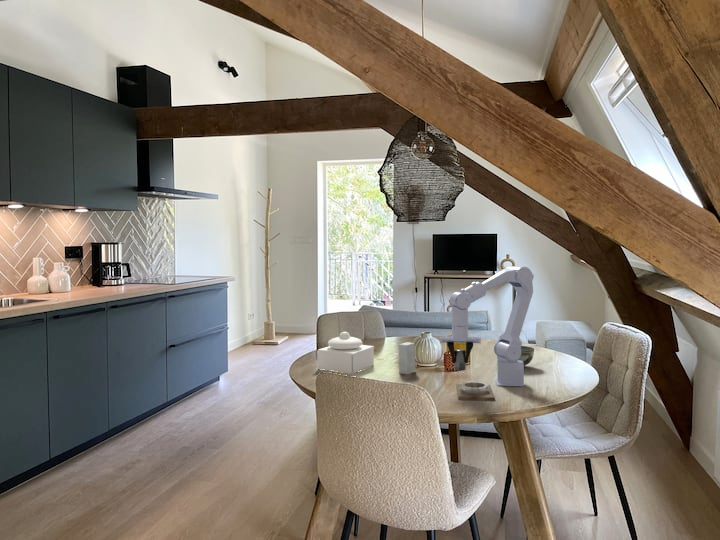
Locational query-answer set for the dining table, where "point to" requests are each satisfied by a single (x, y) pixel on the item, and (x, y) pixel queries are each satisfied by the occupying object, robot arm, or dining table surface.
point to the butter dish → (345, 355)
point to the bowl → (526, 354)
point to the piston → (460, 359)
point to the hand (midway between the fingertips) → (460, 362)
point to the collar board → (474, 391)
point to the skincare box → (406, 358)
